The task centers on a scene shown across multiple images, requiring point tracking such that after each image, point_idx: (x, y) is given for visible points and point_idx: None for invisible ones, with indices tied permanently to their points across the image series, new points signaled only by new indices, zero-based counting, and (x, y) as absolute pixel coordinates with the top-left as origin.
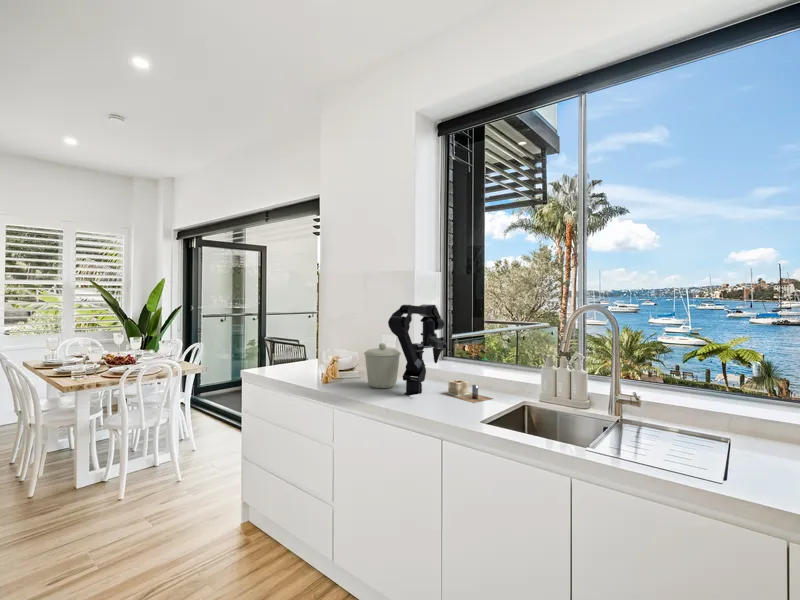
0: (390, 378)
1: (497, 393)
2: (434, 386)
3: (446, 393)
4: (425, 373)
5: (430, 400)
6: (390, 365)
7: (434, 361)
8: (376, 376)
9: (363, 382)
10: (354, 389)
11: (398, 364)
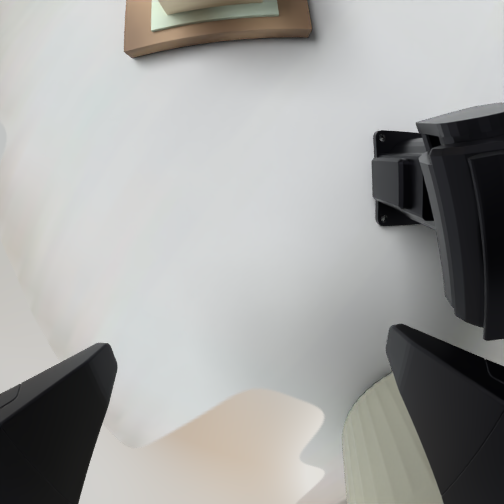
0: None
1: (13, 17)
2: (161, 292)
3: (277, 6)
4: (435, 123)
5: (401, 25)
6: None
7: (112, 382)
8: None
9: None
10: None
11: (391, 474)
